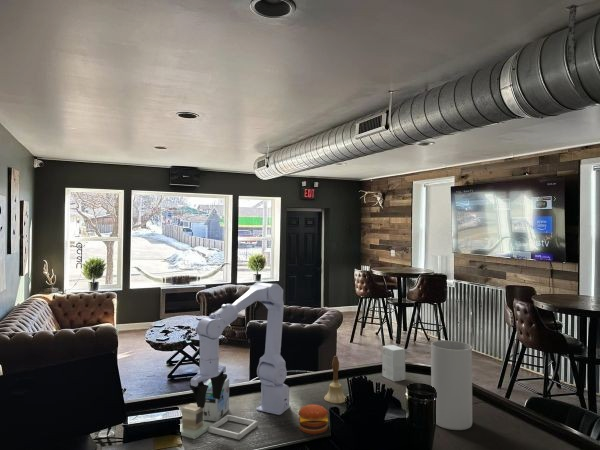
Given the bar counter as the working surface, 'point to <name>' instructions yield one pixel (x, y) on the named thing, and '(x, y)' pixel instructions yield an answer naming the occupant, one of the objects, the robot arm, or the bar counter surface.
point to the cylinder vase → (452, 383)
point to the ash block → (192, 417)
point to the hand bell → (335, 386)
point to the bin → (230, 434)
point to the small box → (393, 363)
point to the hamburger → (313, 419)
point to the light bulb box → (216, 402)
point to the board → (197, 432)
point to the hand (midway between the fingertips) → (208, 402)
